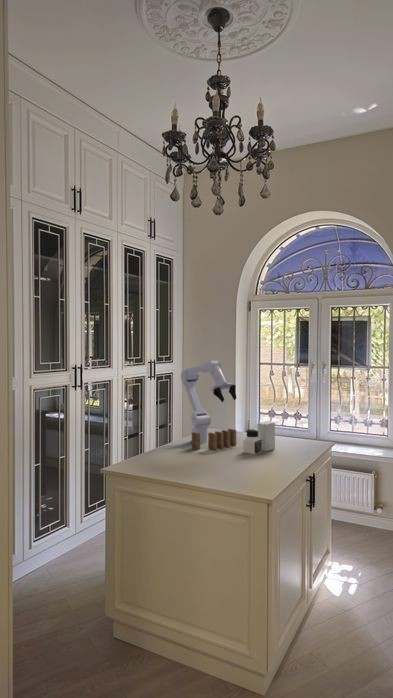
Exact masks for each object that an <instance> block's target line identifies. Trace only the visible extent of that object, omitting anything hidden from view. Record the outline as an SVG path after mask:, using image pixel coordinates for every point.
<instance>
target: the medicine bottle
mask: <svg viewBox="0 0 393 698" xmlns="http://www.w3.org/2000/svg"><path fill="white" fill-rule="evenodd" d="M242 441H243V444H242V445H243V446H242V447H243V448H242V450H243V451H242V452H243V453H246V454H251V455H257V454H260V453H261V452H262V450H261V439H260V438H258V429H253V428H251V429H247V430H246V438H244V439H243V440H242Z"/></svg>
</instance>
